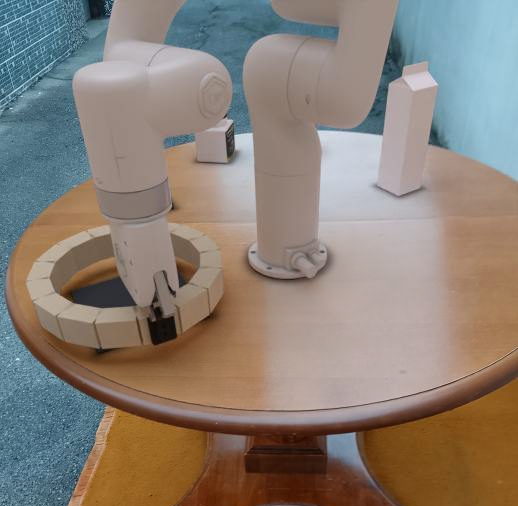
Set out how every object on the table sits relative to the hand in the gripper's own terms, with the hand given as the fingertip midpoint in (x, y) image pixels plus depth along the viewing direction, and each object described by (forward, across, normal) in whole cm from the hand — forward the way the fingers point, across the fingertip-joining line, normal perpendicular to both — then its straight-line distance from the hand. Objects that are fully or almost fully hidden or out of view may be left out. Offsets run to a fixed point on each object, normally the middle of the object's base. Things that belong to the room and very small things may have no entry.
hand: (159, 331), depth 68 cm
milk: (+3, -24, +57) cm, 62 cm away
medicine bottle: (+3, -58, +33) cm, 67 cm away
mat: (+3, -12, 0) cm, 12 cm away
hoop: (0, -12, 0) cm, 12 cm away
